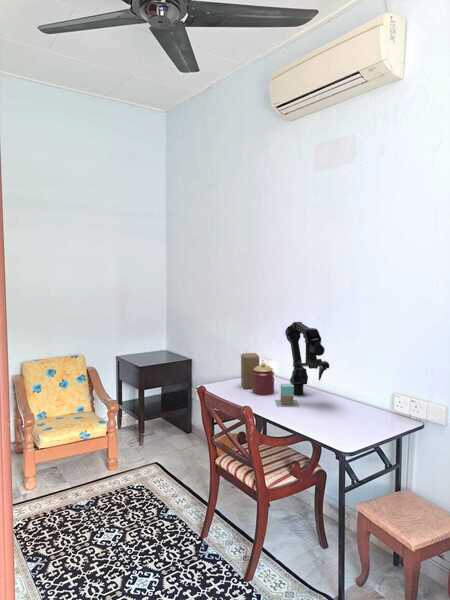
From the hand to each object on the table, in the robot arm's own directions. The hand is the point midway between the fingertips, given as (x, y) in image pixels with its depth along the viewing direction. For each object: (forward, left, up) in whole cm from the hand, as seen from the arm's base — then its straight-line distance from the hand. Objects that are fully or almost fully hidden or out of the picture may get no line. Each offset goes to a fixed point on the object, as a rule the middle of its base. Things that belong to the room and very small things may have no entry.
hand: (310, 380), depth 236 cm
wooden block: (-33, -31, -13) cm, 47 cm away
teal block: (+1, -13, -7) cm, 15 cm away
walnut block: (+1, -13, -12) cm, 18 cm away
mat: (+1, -13, -12) cm, 18 cm away
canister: (-20, -24, -13) cm, 34 cm away
